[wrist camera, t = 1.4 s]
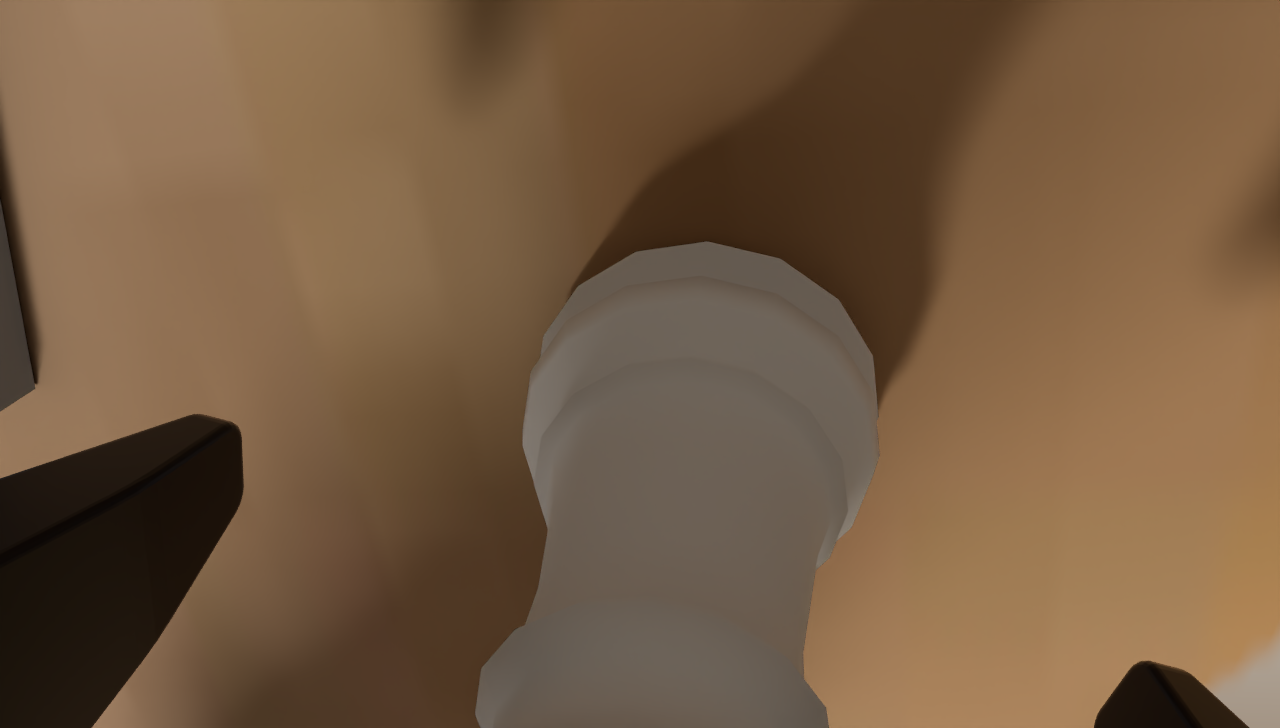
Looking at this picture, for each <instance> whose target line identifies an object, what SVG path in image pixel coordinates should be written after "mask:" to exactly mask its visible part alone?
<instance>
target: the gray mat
mask: <svg viewBox="0 0 1280 728" xmlns="http://www.w3.org/2000/svg"><path fill="white" fill-rule="evenodd" d="M34 389H35V384H34V379H33V373H32V368H31V363H30V357H29V352H28V347H27V341H26V336H25V330H24V325H23V320H22V314H21V309H20V303H19V298H18V293H17V287H16V282H15V276H14V271H13V266H12V260H11V255H10V249H9V244H8V239H7V233H6V228H5V222H4V217H3V212H2V206H1V201H0V411H2V410H3V409H5V408H6V407H8V406H9V405H11V404H12V403H14V402H15V401H17V400H18V399H20V398H22V397H23V396H25V395H26V394H28V393H29V392H31V391H32V390H34Z"/></svg>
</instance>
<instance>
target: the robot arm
mask: <svg viewBox="0 0 1280 728" xmlns="http://www.w3.org/2000/svg"><path fill="white" fill-rule="evenodd" d="M243 488H244V482H243V457H242V437H241V432H240V429H239V427H238V426H237V425H236V424H234V423H233V422H230V421H226V420H223V419H219V418H215V417H211V416H207V415H203V414H193V415H189V416H186V417H183V418H180V419H177V420H174V421H171V422H168V423H165V424H162V425H159V426H156V427H153V428H150V429H147V430H144V431H141V432H138V433H135V434H132V435H129V436H126V437H123V438H120V439H117V440H114V441H111V442H108V443H105V444H102V445H99V446H96V447H93V448H90V449H87V450H84V451H81V452H78V453H75V454H72V455H69V456H66V457H63V458H60V459H57V460H54V461H51V462H48V463H45V464H42V465H39V466H36V467H33V468H30V469H27V470H24V471H21V472H18V473H15V474H12V475H9V476H6V477H3V478H0V728H92V726H93V725H94V724H95V723H96V721H97V720H98V719H99V717H100V716H101V715H102V713H103V712H104V711H105V709H106V708H107V707H108V706H109V704H110V703H111V702H112V700H113V699H114V698H115V696H116V695H117V694H118V692H119V691H120V690H121V688H122V687H123V686H124V685H125V683H126V682H127V681H128V679H129V678H130V677H131V675H132V674H133V673H134V671H135V670H136V669H137V668H138V666H139V665H140V664H141V662H142V661H143V660H144V658H145V657H146V655H147V654H148V653H149V651H150V650H151V649H152V647H153V646H154V644H155V643H156V642H157V640H158V639H159V637H160V636H161V634H162V633H163V631H164V629H165V628H166V626H167V625H168V623H169V622H170V620H171V619H172V617H173V615H174V614H175V612H176V610H177V609H178V607H179V605H180V604H181V602H182V600H183V599H184V597H185V596H186V594H187V592H188V591H189V589H190V587H191V586H192V584H193V582H194V581H195V579H196V577H197V576H198V574H199V573H200V571H201V569H202V568H203V566H204V564H205V563H206V561H207V559H208V558H209V556H210V554H211V553H212V551H213V549H214V548H215V546H216V545H217V543H218V541H219V540H220V538H221V536H222V535H223V533H224V531H225V530H226V528H227V526H228V525H229V523H230V522H231V520H232V518H233V517H234V515H235V513H236V511H237V510H238V507H239V505H240V502H241V499H242V495H243ZM1094 728H1249V727H1248V726H1247V725H1246V724H1245V723H1244V722H1243V721H1242V720H1240V719H1239V718H1238V717H1237V716H1236V715H1235V714H1234V713H1233V712H1232V711H1230V710H1229V709H1228V708H1227V707H1226V706H1225V705H1224V704H1223V703H1222V702H1221V701H1220V700H1219V699H1218V698H1217V697H1215V696H1214V695H1213V694H1212V693H1211V692H1210V691H1209V690H1208V689H1207V688H1206V687H1205V686H1203V685H1202V684H1201V683H1200V682H1199V681H1198V680H1197V679H1196V678H1195V677H1194V676H1192V675H1191V674H1190V673H1188V672H1186V671H1184V670H1182V669H1179V668H1175V667H1171V666H1167V665H1163V664H1159V663H1156V662H1152V661H1141V662H1138V663H1137V664H1135V665H1133V666H1132V667H1131V668H1130V670H1129V671H1128V672H1127V674H1126V675H1125V676H1124V678H1123V679H1122V681H1121V682H1120V683H1119V685H1118V686H1117V687H1116V689H1115V690H1114V692H1113V693H1112V694H1111V696H1110V697H1109V698H1108V700H1107V701H1106V702H1105V704H1104V705H1103V707H1102V708H1101V709H1100V711H1099V713H1098V715H1097V718H1096V720H1095V725H1094Z"/></svg>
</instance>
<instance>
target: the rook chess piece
mask: <svg viewBox="0 0 1280 728" xmlns="http://www.w3.org/2000/svg"><path fill="white" fill-rule="evenodd" d="M877 419H878V406H877V394H876V383H875V372H874V360H873V355H872V353H871V352H870V350H869V349H868V347H867V345H866V344H865V342H864V340H863V339H862V337H861V335H860V334H859V332H858V330H857V329H856V327H855V325H854V324H853V322H852V320H851V319H850V317H849V316H848V314H847V312H846V311H845V309H844V307H843V306H842V304H841V302H840V301H839V299H837V298H836V297H834V296H833V295H831V294H830V293H829V292H827V291H826V290H824V289H823V288H822V287H820V286H819V285H817V284H816V283H814V282H813V281H812V280H810V279H809V278H807V277H806V276H804V275H803V274H802V273H800V272H799V271H797V270H796V269H794V268H793V267H792V266H790V265H789V264H787V263H786V262H784V261H783V260H782V259H780V258H776V257H772V256H767V255H763V254H759V253H755V252H750V251H746V250H742V249H738V248H733V247H729V246H725V245H721V244H716V243H712V242H708V241H707V242H700V243H693V244H686V245H679V246H672V247H665V248H658V249H651V250H644V251H637V252H634V253H633V254H631V255H629V256H628V257H626V258H624V259H623V260H621V261H619V262H617V263H616V264H614V265H612V266H611V267H609V268H607V269H606V270H604V271H602V272H601V273H599V274H597V275H596V276H594V277H592V278H590V279H589V280H587V281H585V282H584V283H582V284H580V285H579V286H578V287H577V288H576V290H575V291H574V292H573V294H572V295H571V297H570V298H569V300H568V301H567V303H566V304H565V305H564V307H563V308H562V310H561V311H560V313H559V314H558V316H557V317H556V319H555V320H554V321H553V323H552V324H551V326H550V327H549V329H548V330H547V332H546V333H545V334H544V336H543V342H542V349H541V356H540V359H539V360H538V362H537V363H536V364H535V366H534V367H533V369H532V370H531V374H530V381H529V387H528V394H527V401H526V408H525V415H524V422H523V449H524V452H525V456H526V459H527V462H528V465H529V468H530V472H531V475H532V478H533V481H534V487H535V490H536V493H537V496H538V500H539V503H540V506H541V509H542V512H543V515H544V519H545V522H546V525H547V528H548V532H547V538H546V544H545V550H544V556H543V562H542V568H541V574H540V580H539V586H538V590H537V592H536V595H535V598H534V601H533V604H532V606H531V609H530V612H529V615H528V618H527V620H526V623H525V625H524V626H521V627H519V628H517V629H515V630H514V631H513V632H512V633H511V634H510V636H509V637H508V638H507V639H506V640H505V641H504V643H503V644H502V645H501V646H500V647H499V648H498V649H497V651H496V652H495V653H494V654H493V655H492V656H491V658H490V659H489V660H488V661H487V662H486V663H485V664H484V666H483V667H482V668H481V674H480V681H479V688H478V695H477V702H476V710H475V716H476V718H477V721H478V723H479V725H480V728H829V725H828V718H827V711H826V707H825V706H824V705H823V703H822V702H821V701H820V699H819V698H818V697H817V695H816V694H815V693H814V692H813V690H812V689H811V688H810V686H809V685H808V684H807V682H806V681H805V680H804V664H803V650H804V643H805V637H806V630H807V624H808V617H809V610H810V604H811V597H812V591H813V584H814V578H815V571H816V570H817V569H818V568H819V567H820V566H821V565H822V564H823V563H824V562H825V561H826V560H828V559H829V558H830V555H831V553H832V550H833V548H834V546H835V543H836V541H837V540H838V539H839V538H840V537H842V536H843V535H844V534H845V533H846V532H847V531H848V530H849V529H850V528H851V527H852V525H853V523H854V520H855V518H856V515H857V513H858V510H859V508H860V506H861V503H862V501H863V498H864V496H865V493H866V491H867V489H868V486H869V484H870V481H871V479H872V476H873V474H874V471H875V468H876V465H877V462H878V459H879V456H880V454H879V442H878V431H877Z"/></svg>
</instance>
